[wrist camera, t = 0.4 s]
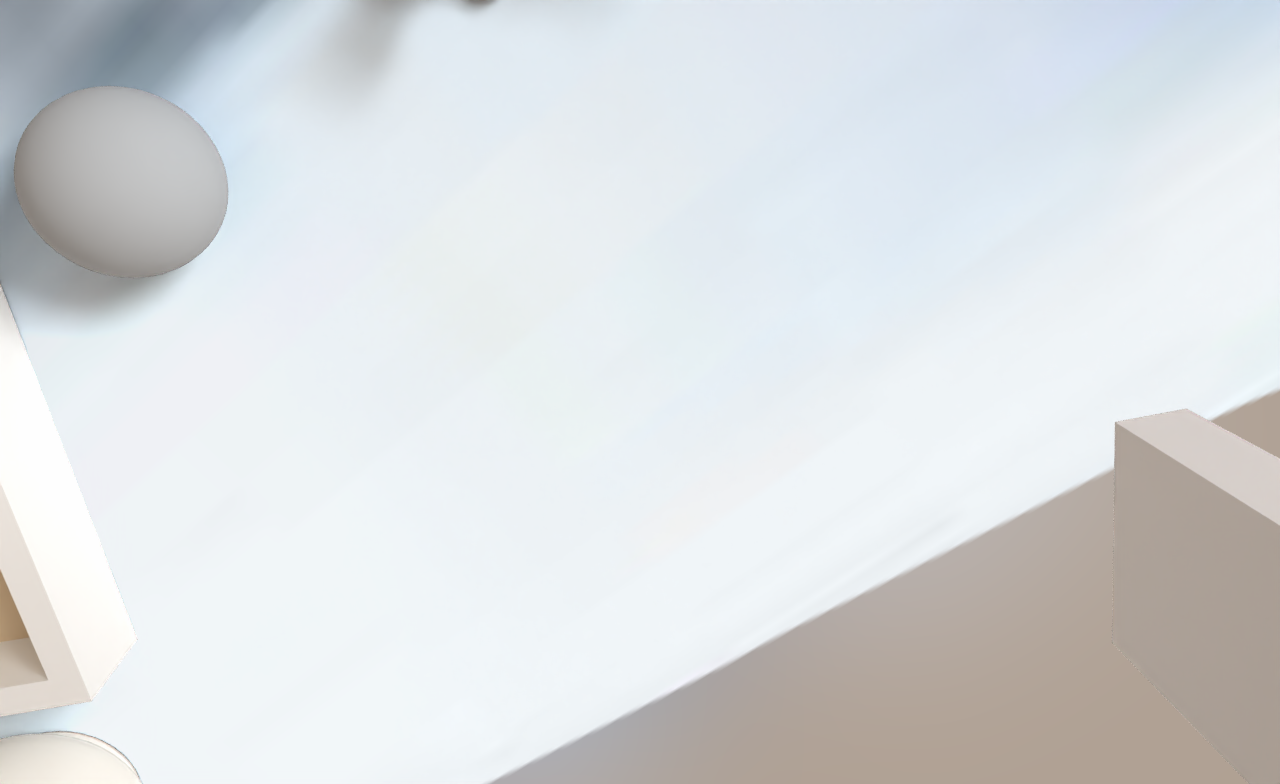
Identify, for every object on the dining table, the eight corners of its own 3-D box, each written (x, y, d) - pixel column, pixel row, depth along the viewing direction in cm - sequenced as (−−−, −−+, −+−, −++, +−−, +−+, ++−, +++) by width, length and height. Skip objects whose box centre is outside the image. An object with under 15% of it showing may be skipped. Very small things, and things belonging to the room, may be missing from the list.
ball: (48, 98, 31) (-65, 104, 26) (224, 72, 31) (151, 72, 26) (107, 270, 33) (14, 310, 28) (272, 244, 33) (214, 280, 28)
